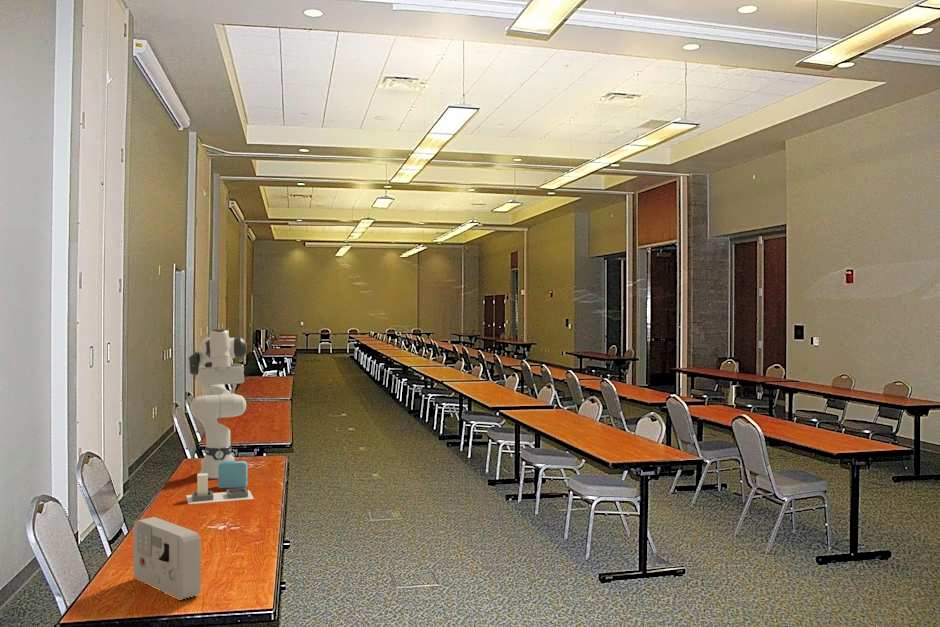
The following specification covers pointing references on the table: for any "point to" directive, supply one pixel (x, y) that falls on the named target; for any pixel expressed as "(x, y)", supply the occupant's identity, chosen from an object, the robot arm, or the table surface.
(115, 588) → the table surface
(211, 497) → the dock
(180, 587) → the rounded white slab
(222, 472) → the data package
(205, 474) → the plug block
